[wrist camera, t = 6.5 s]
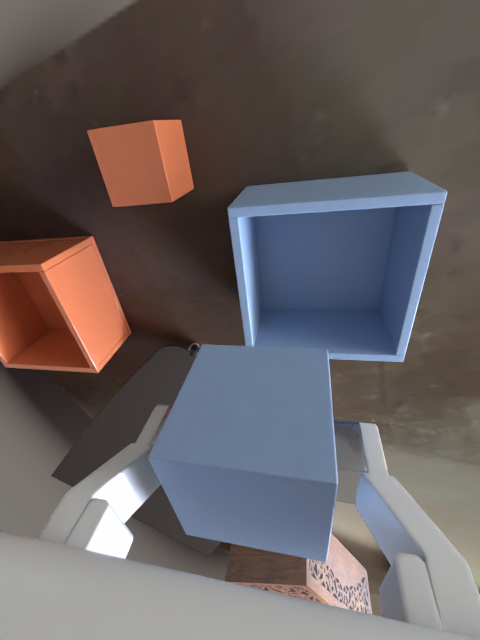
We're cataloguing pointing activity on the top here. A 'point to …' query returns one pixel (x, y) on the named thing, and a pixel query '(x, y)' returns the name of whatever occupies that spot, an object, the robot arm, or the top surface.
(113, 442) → the laptop stand
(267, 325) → the slate bin
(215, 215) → the top surface
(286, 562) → the tissue box cover
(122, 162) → the terracotta block
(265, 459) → the slate block
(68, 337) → the terracotta bin
